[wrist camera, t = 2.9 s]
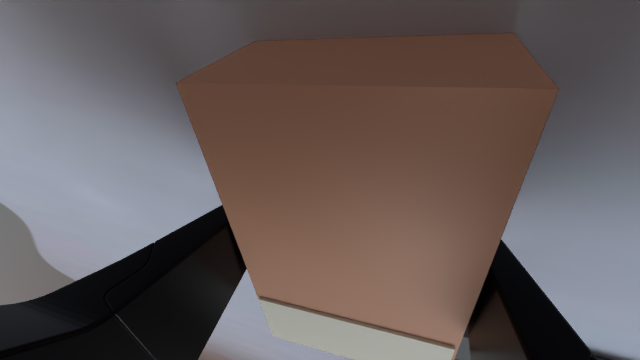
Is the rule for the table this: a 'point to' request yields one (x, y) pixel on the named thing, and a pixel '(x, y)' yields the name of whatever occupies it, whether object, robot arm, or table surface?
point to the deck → (370, 179)
